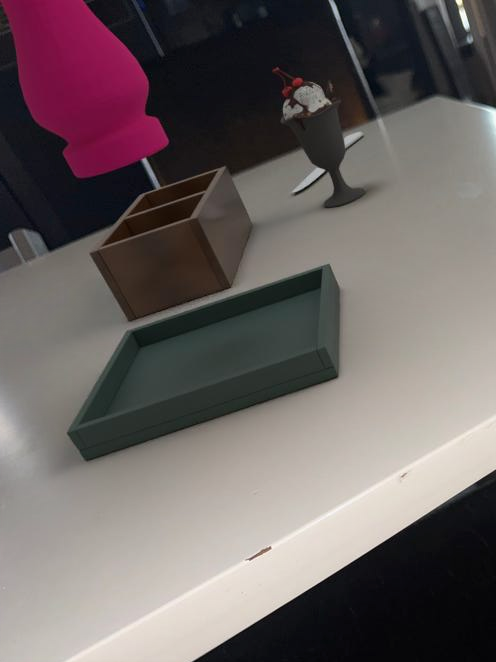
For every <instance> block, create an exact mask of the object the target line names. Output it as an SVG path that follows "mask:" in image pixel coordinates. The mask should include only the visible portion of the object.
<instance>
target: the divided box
mask: <svg viewBox="0 0 496 662" xmlns="http://www.w3.org/2000/svg"><path fill="white" fill-rule="evenodd" d="M252 227H253V221H252V219H251V217H250V215H249V213H248V211H247V209H246V206H245V204H244V202H243V200H242V197H241V196H240V193H239V190H238V188H237V186H236V184H235V181H234V180H233V178H232V175H231V173H230V171H229V168H228V166H226V165H224V166H222V167H220V168H216V169H213V170H210V171H206V172H203V173H202V174H198V175H194V176H192V177H191V176H190V177H189V178H186V179H182V180H179V181H177V182H173V183H171V184H167V185H165V186H161V187H159V188H156V189H153V190H150V191H147V192H143V193H142V194H139V195H138V196H137V197H136V199H135V200H134V201H133V202H132V203H131V204H130V206H129V207H128V208H127V209H126V210H125V211H124V212H123V213H122V215H121V216H120V217H119V218H118V220H117V221H116V222H115V223H114V224H113V225H112V226H111V228H110V229H109V230H108V231H107V232H106V233H105V234H104V235H103V237H102V238H100V240H99V241H98V242H97V243H96V244H95V246H94V247H93V248H92V249H91V251H89V256H90V257H91V259H92V261H93V263H94V264H95V267H96V268H97V270H98V271H99V273H100V275H101V276H102V278H103V279H104V281H105V283H106V285H107V287H108V288H109V290H110V293H112V295H113V297H114V299H115V300H116V302H117V304H118V306H119V307H120V309H121V311H122V313H123V315H124V316H125V317H126V319H127V321H128V322H131V321H133V320H136V319H139V318H142V317H145V316H148V315H151V314H153V313H157V312H159V311H163V310H166V309H169V308H172V307H175V306H178V305H182V304H184V303H187V302H190V301H194V300H196V299H199V298H202V297H205V296H208V295H212V294H214V293H218V292H220V291H222V290H227V289H229V288H231V287H232V285H233V282H234V280H235V276H236V274H237V270H238V268H239V265H240V262H241V259H242V256H243V254H244V250H245V248H246V244H247V242H248V239H249V236H250V233H251V231H252Z"/></svg>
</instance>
